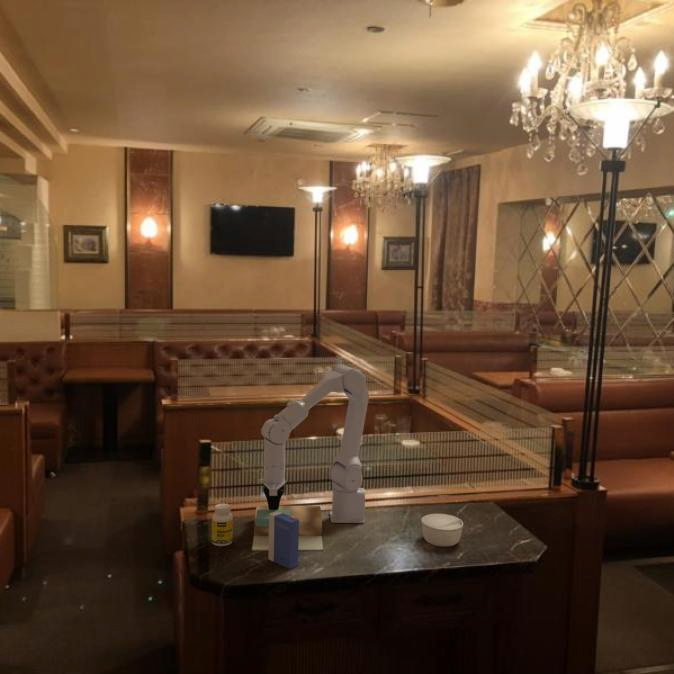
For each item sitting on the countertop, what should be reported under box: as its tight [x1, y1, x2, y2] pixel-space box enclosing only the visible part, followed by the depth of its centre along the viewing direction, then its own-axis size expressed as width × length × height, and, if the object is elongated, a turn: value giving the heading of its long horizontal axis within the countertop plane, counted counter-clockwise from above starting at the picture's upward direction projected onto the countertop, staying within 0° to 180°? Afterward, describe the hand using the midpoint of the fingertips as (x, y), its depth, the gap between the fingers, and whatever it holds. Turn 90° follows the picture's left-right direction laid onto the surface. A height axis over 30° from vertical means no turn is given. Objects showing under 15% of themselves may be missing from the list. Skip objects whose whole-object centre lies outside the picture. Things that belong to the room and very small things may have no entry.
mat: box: [251, 535, 324, 552], centre depth 179 cm, size 18×8×1 cm, turn 93°
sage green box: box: [256, 510, 291, 526], centre depth 183 cm, size 9×6×2 cm, turn 93°
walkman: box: [267, 511, 299, 570], centre depth 167 cm, size 8×3×12 cm, turn 47°
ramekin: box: [420, 513, 464, 548], centre depth 184 cm, size 11×11×5 cm
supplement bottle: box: [211, 503, 234, 547], centre depth 178 cm, size 5×5×10 cm
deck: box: [253, 505, 323, 537], centre depth 189 cm, size 18×12×4 cm, turn 93°
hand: (273, 512), depth 187 cm, fingers closed
